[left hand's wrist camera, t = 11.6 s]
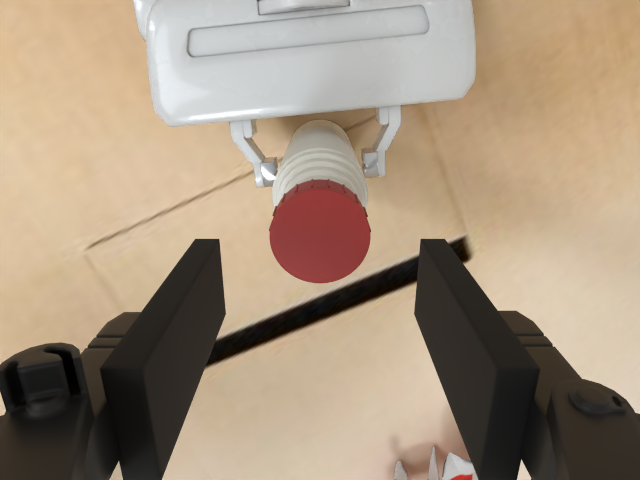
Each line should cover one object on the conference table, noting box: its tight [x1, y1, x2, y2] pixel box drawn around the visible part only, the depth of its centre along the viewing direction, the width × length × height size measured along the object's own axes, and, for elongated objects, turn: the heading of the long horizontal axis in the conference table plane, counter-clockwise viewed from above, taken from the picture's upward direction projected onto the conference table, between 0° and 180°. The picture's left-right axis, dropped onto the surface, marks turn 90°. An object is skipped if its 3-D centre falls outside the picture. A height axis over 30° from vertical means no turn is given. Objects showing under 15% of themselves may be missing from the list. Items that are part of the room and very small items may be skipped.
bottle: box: [272, 120, 368, 210], centre depth 28 cm, size 5×5×20 cm
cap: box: [269, 179, 371, 283], centre depth 19 cm, size 4×4×2 cm
